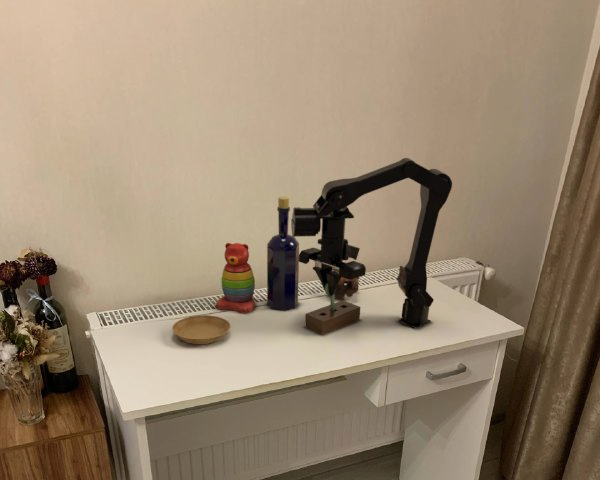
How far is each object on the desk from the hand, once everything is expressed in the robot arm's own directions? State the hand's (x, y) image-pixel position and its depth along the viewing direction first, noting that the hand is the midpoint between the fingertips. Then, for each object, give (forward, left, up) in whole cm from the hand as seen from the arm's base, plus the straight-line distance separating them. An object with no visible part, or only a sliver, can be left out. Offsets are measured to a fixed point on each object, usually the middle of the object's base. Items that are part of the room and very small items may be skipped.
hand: (329, 294), depth 160 cm
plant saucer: (+17, +29, -9) cm, 35 cm away
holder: (0, -2, -9) cm, 9 cm away
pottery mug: (+12, -20, -9) cm, 25 cm away
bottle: (+19, -1, -9) cm, 21 cm away
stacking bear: (+27, +9, -9) cm, 30 cm away
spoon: (0, -2, -6) cm, 7 cm away
